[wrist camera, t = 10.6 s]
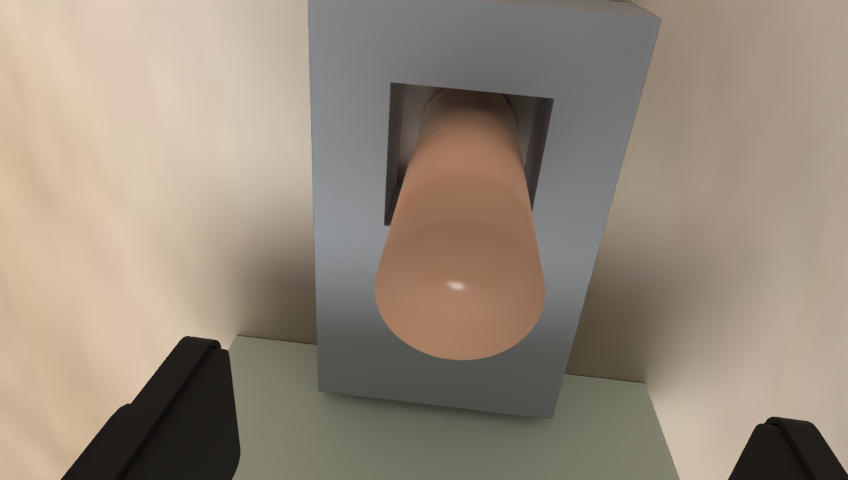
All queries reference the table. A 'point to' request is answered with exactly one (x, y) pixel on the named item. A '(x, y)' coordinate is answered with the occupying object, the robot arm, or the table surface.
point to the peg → (462, 235)
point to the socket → (544, 171)
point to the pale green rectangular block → (432, 430)
